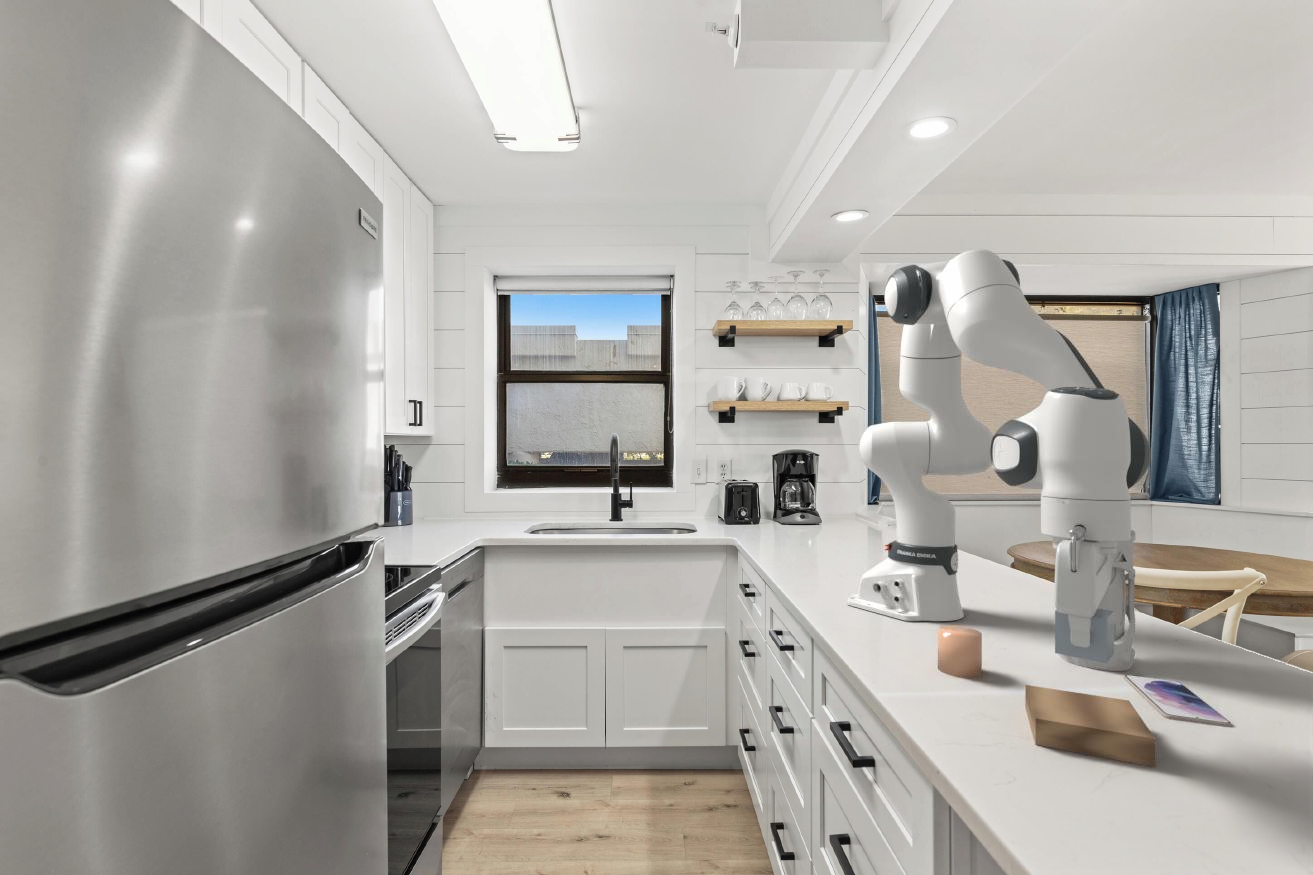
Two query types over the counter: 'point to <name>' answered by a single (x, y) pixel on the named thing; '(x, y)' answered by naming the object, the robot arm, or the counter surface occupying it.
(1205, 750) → the counter surface
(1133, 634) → the lantern
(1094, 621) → the cube
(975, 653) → the peach rounded cylinder
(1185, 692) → the smartphone
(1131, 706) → the base slab
